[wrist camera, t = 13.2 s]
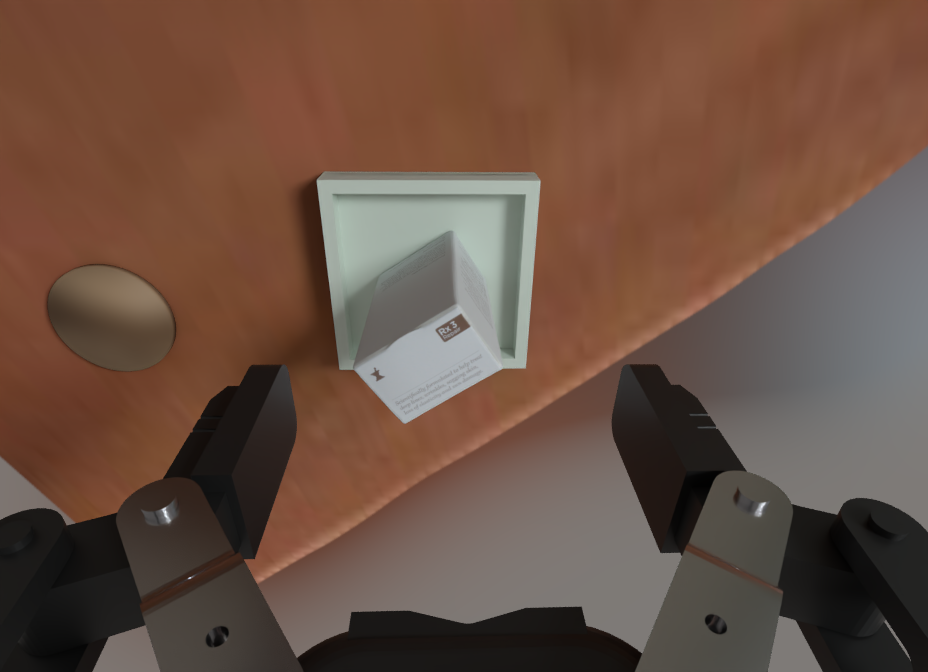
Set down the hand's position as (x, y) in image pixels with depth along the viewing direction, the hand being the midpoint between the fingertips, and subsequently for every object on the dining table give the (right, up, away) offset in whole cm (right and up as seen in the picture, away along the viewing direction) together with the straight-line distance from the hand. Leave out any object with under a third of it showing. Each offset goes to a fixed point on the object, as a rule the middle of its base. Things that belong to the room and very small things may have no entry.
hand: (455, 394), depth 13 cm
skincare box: (-2, +6, +23) cm, 23 cm away
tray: (-2, +6, +23) cm, 24 cm away
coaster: (-24, +3, +24) cm, 34 cm away
